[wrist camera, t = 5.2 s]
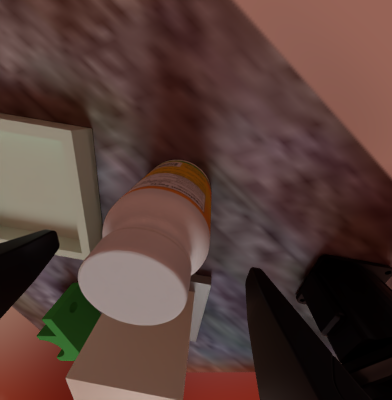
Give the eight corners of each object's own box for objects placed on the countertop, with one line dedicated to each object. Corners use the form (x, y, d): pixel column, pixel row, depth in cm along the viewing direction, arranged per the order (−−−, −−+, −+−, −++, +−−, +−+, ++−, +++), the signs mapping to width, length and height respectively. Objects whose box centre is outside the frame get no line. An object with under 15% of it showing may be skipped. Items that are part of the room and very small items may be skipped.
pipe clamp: (56, 282, 22) (20, 319, 18) (81, 280, 22) (50, 318, 18) (92, 334, 27) (70, 373, 23) (114, 334, 26) (95, 374, 22)
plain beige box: (211, 277, 19) (209, 396, 11) (196, 333, 24) (187, 444, 16) (112, 259, 19) (38, 362, 11) (117, 318, 24) (68, 420, 16)
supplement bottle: (188, 227, 16) (160, 352, 8) (138, 196, 16) (42, 298, 7) (224, 183, 14) (241, 288, 6) (168, 144, 13) (82, 196, 5)
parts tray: (92, 128, 13) (71, 130, 11) (104, 245, 18) (91, 261, 16) (-54, 103, 14) (-100, 101, 12) (-2, 226, 19) (-28, 239, 17)
